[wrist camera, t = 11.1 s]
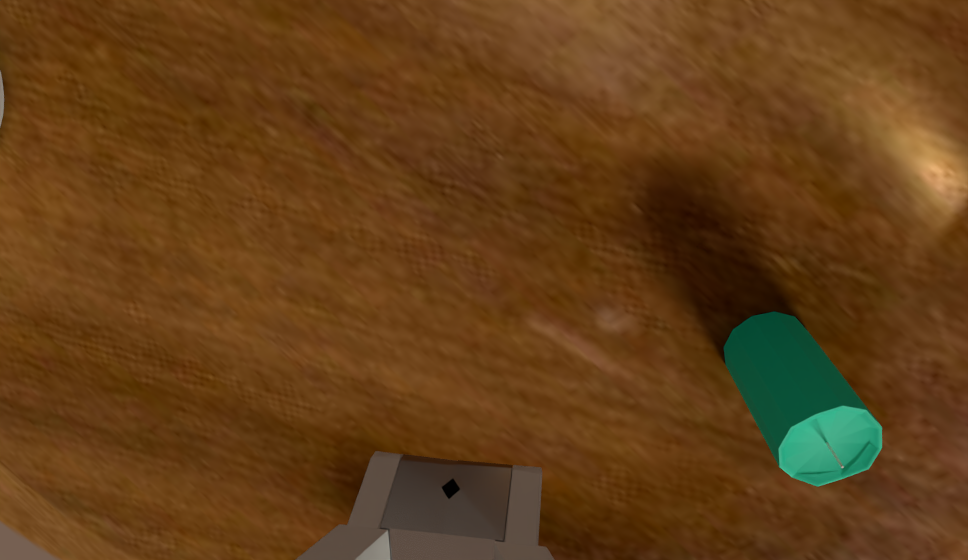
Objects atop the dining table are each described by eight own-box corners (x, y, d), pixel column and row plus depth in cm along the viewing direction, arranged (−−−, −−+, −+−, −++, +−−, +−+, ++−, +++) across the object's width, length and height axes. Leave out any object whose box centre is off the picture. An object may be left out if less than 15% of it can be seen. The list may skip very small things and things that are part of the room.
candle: (710, 334, 48) (772, 451, 37) (793, 297, 46) (883, 408, 36) (739, 393, 50) (805, 520, 40) (819, 361, 49) (910, 482, 38)
